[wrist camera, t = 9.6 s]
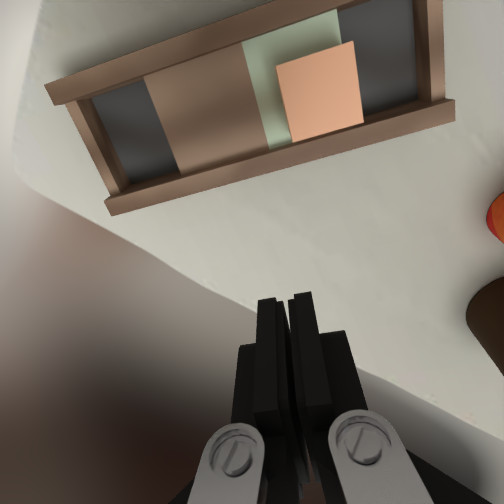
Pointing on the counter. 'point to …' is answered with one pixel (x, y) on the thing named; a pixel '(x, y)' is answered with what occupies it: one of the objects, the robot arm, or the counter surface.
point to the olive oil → (489, 320)
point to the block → (320, 92)
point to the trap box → (251, 95)
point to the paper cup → (497, 217)
